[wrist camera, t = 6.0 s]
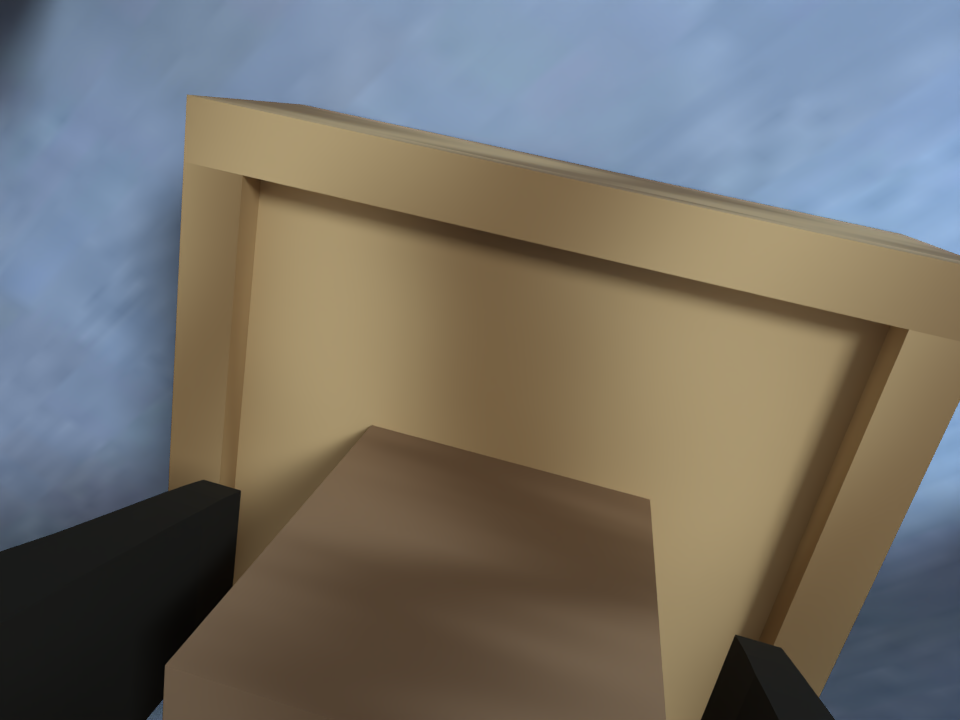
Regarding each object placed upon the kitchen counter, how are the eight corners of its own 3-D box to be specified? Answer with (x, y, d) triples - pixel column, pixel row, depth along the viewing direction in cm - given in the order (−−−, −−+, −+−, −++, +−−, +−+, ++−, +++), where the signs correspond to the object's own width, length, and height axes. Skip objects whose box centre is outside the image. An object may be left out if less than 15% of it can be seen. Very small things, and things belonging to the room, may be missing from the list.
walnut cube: (649, 499, 12) (673, 830, 6) (579, 719, 14) (549, 1133, 8) (371, 425, 12) (165, 665, 7) (337, 644, 14) (150, 980, 9)
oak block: (902, 234, 13) (1017, 276, 9) (707, 714, 17) (731, 882, 13) (302, 104, 14) (186, 94, 11) (254, 576, 19) (158, 692, 15)
